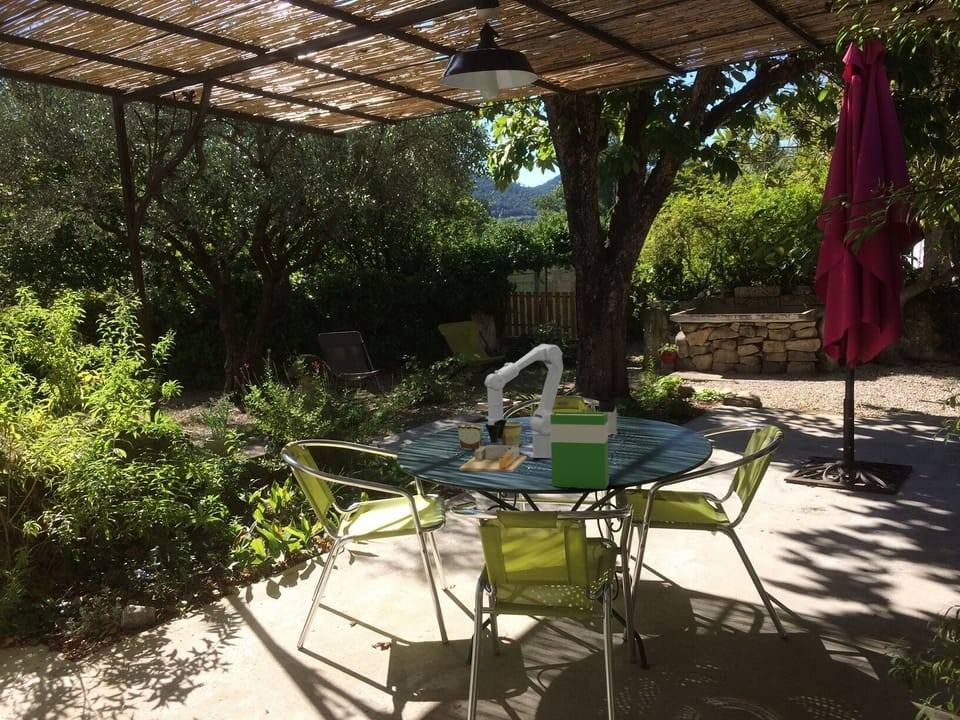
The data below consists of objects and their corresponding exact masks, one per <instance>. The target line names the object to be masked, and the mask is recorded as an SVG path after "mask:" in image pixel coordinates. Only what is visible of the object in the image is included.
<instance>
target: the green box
mask: <svg viewBox="0 0 960 720" xmlns="http://www.w3.org/2000/svg"><path fill="white" fill-rule="evenodd" d="M550 417H551V455H552V458H551V481H552V483H551V484H552V486H557V487H556V488H571V487H577V488H578V489H595V490H597V489H600V490H606V489H607V488H608V486H609V483H610V476H609V475H610V473H609V472H610V471H609V469H610V468H609V467H610V465H609V464H610V463H609V462H610V461H609V436H608V412H599V411H596V412H595V411H586V412H585V411H554V414H553V415H550ZM577 488H576V489H577Z"/></svg>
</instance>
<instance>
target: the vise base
mask: <svg viewBox="0 0 960 720" xmlns="http://www.w3.org/2000/svg"><path fill="white" fill-rule="evenodd" d="M485 446H486V445H481V447H480V448H479V449H477V450H474V457H472V458H470V459H469V460H468V461H467V462H465V463H464V464H463V465H461V466H460V467H459V471H461V472H462V471H468V472H493V473H494V472H495V473H513V472H515V470H517V469H518V468H519V467H520V466H521V465H522V464H523V463H524V462H525V461H527V459H528V455H519V457H518V458H517V459H516V460H514V461H513V462H512V463H511V464H510V465H509V466H508V467H507V468H500V465H499V460H485Z"/></svg>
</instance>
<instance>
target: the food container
mask: <svg viewBox="0 0 960 720" xmlns="http://www.w3.org/2000/svg"><path fill="white" fill-rule="evenodd" d="M456 431H458V432H457V434H458V440H459V441H458V442H459V448H465V449H464V450H472V449H475V450H474V451H476V450H477V449H479V448H480V447H482V441H483V440H482V439H483V432H484V431H485V430H484V426H483V424H482V423H474V422H472V423H460V424H457V425H456Z"/></svg>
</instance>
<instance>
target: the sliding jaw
mask: <svg viewBox="0 0 960 720" xmlns="http://www.w3.org/2000/svg"><path fill="white" fill-rule="evenodd" d="M519 456H520V447H519V446H518V447H512V448H509V450H508V451H507V452H506V453H505V454H504V455H503V456H501V457H500V458H499V465H500V468H507V467H508V466H509V465H510V464H511V463H512V462H513V461H514V460H516V459H517V458H518V457H519Z"/></svg>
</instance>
